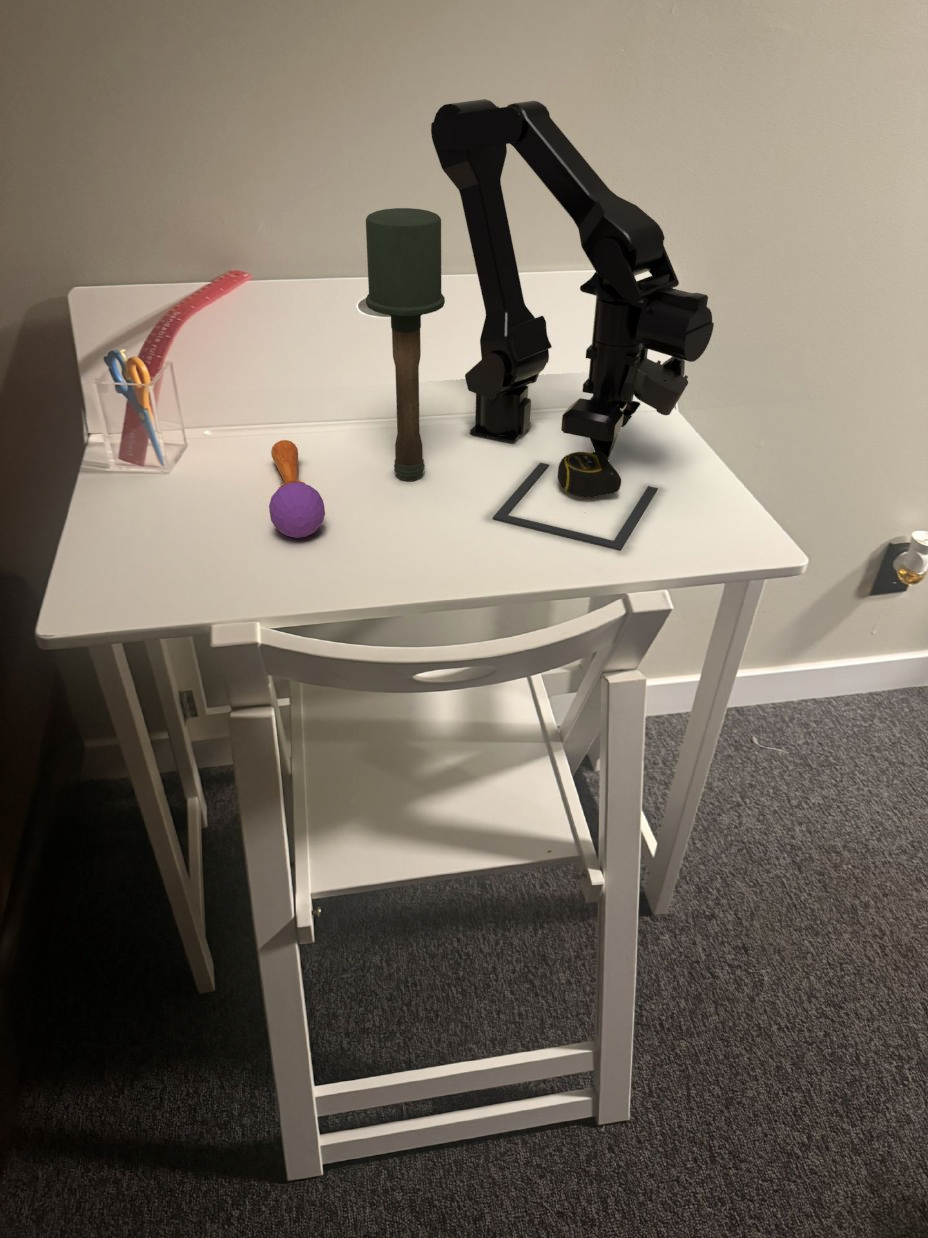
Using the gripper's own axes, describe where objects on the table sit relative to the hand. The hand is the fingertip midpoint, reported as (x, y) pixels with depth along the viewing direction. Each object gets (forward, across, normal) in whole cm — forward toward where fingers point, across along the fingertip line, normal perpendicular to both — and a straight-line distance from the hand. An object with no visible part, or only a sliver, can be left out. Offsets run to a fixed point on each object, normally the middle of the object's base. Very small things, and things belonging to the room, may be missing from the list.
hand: (603, 461), depth 112 cm
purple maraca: (+1, -24, +30) cm, 38 cm away
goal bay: (+1, -9, 0) cm, 9 cm away
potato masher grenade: (+1, -12, +21) cm, 24 cm away
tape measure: (+1, -5, 0) cm, 5 cm away
